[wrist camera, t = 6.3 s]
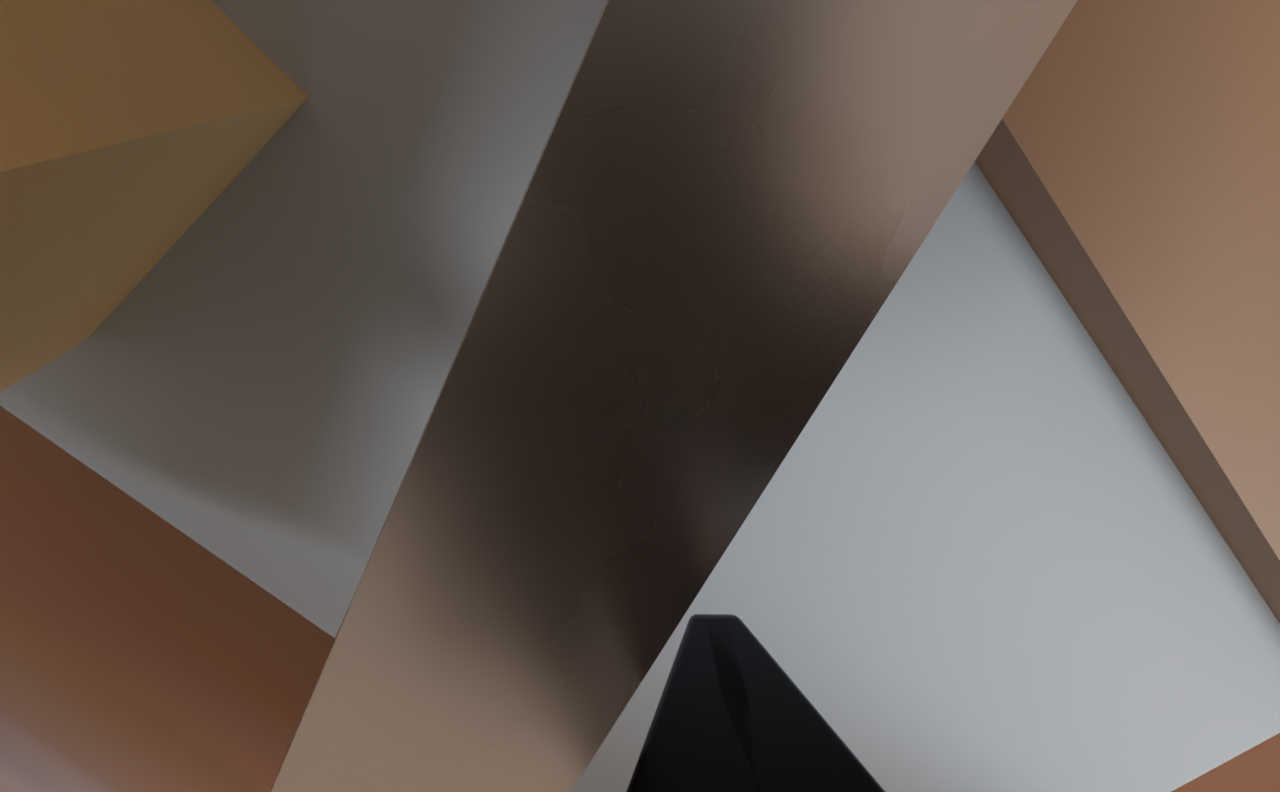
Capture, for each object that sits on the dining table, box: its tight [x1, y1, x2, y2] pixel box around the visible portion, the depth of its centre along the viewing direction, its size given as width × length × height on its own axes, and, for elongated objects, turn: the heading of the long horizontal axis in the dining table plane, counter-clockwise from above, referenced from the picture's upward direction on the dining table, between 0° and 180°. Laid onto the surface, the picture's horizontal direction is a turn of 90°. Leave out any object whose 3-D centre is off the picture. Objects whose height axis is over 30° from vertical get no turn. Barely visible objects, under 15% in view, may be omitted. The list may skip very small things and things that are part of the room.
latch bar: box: [270, 0, 1078, 792], centre depth 5 cm, size 13×3×2 cm, turn 154°
